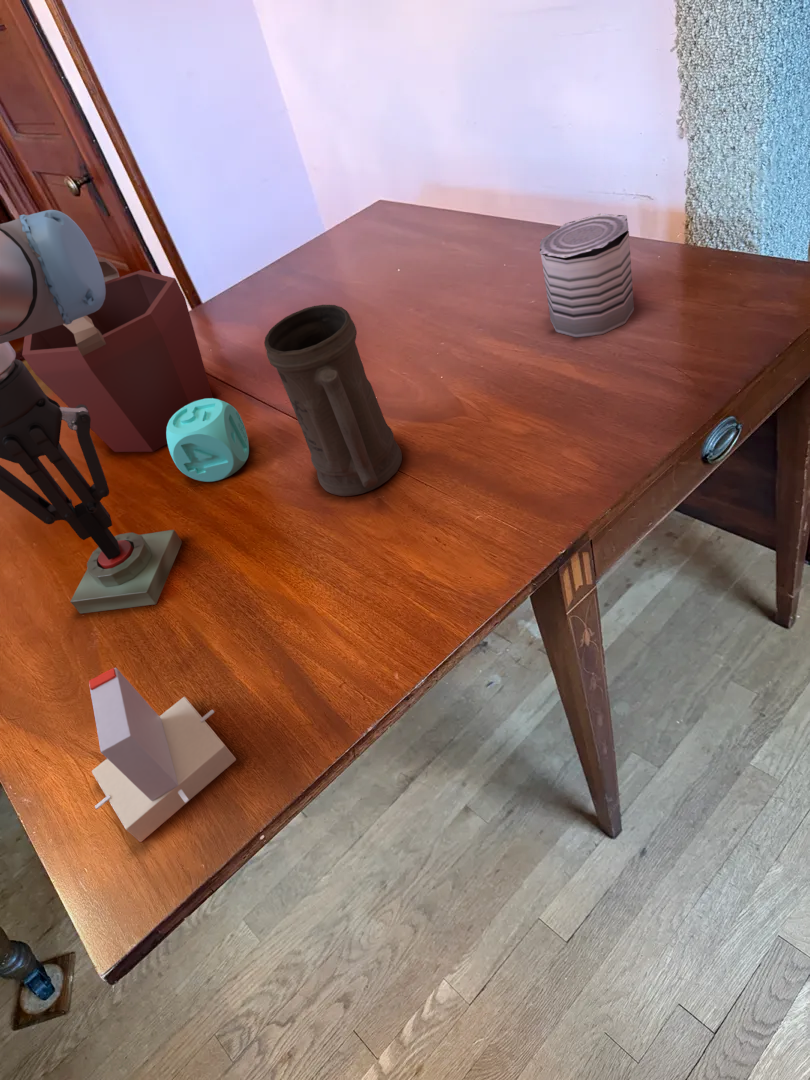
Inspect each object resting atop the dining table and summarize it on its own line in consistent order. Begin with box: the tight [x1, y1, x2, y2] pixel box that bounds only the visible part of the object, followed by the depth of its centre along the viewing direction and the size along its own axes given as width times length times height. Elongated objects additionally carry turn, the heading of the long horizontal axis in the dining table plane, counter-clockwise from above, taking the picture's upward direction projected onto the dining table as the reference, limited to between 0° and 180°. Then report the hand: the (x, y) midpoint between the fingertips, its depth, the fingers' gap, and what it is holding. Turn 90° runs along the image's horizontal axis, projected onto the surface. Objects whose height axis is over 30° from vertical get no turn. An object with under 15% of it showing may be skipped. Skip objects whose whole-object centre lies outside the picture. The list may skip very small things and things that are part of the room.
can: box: [539, 213, 635, 338], centre depth 99 cm, size 11×11×12 cm
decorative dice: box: [166, 397, 250, 483], centre depth 99 cm, size 8×8×8 cm
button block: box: [69, 529, 183, 614], centre depth 87 cm, size 10×10×4 cm
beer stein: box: [263, 304, 403, 497], centre depth 84 cm, size 15×11×20 cm
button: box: [98, 540, 134, 569], centre depth 86 cm, size 4×4×2 cm
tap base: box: [91, 696, 237, 843], centre depth 66 cm, size 12×12×3 cm
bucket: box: [21, 256, 214, 453], centre depth 107 cm, size 24×22×25 cm
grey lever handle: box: [88, 667, 178, 801], centre depth 62 cm, size 8×2×8 cm, turn 25°
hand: (113, 550), depth 86 cm, fingers closed
